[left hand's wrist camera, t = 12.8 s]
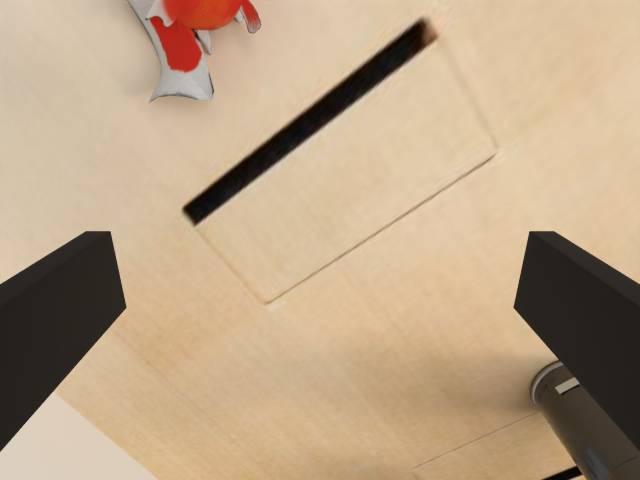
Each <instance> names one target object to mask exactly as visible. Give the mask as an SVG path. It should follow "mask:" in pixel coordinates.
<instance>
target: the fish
mask: <svg viewBox="0 0 640 480" xmlns="http://www.w3.org/2000/svg"><path fill="white" fill-rule="evenodd" d="M128 2H129V4H130V5H131V7H132V9H133V10H134V12H135V13H136V15H137V17H138V18H139V20H140V22H141V23H142V25H143V26H144V28H145V30H146V32H147V34H148V35H149V37H150V39H151V41H152V43H153V45H154V46H155V49H156V51H157V54H158V56H159V59H160V62H161V66H162V67H161V76H160V80H159V82H158V84H157V86H156V88H155V90H154V92H153V94H152V97H151V99H150V101H149V103H150V102H151V101H153V100H154V99H156V98H157V97H163V96H184V97H189V98H193V99H197V100H212V96H213V92H214V89H213V85H212V82H211V78H210V74H209V70H208V66H207V62H206V59H205V56H204V52H203V49H202V46H201V43H200V40H199V38H200V39H201V41H202V42H203V44H204V45H205V47H206V49H207V50H208V52H209V54H210V55H211V54H212V51H211V39H210V34H209V30H215V29H218V28H221V27H223V26H225V25H227V24H228V23H230V22H231V21H232V20H233V19H234V18H235V19H236V20H237V21H238V22H241V21H242V19H243V17H244V19H245V21H246V24H247V28H248V31H249V33H255V32H256V31H257V30H258V29H260V27H261V22H260V19H259V17H258V13H257V11H256V9H255V8H254V6H253V5H252V4H251V2H250V1H249V0H128ZM193 29H195V30H197V33H196V32H195V31H194V30H193ZM197 34H198V35H197ZM198 36H199V37H198ZM149 103H148V104H149Z"/></svg>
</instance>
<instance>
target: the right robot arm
mask: <svg viewBox="0 0 640 480" xmlns="http://www.w3.org/2000/svg"><path fill="white" fill-rule="evenodd" d="M531 398H532V401H533V402H534V404H535V405H536V407H537V408H538V409H539V410H540V411H541V413H542V414H543V416H544V417H545V419H546V420H547V422H548V423H549V425H550V426H551V428H552V429H553V431H554V432H555V434H556V435H557V437H558V438H559V440H560V441H561V443H562V444H563V446H564V447H565V449H566V450H567V451H568V453H569V454H570V456H571V457H572V459H573V460H574V462H575V463H576V465H577V466H578V468H579V469H580V471H581V472H582V474H583V475H584V477H585V478H586V479H587V480H640V452H639V450H638V449H637V448H636V447H635V446H634V445H633V444H632V442H631V441H630V440H629V439H628V438H627V437H626V436H625V434H624V433H623V432H622V431H621V430H620V429H619V428H618V426H617V425H616V424H615V423H614V422H613V421H612V420H611V418H610V417H609V416H608V415H607V414H606V413H605V412H604V410H603V409H602V408H601V407H600V406H599V405H598V404H597V402H596V401H595V400H594V399H593V398H592V397H591V396H590V394H589V393H588V392H587V391H586V390H585V389H584V388H583V386H582V385H581V384H580V383H579V382H578V381H577V380H576V378H575V377H574V376H573V375H572V374H571V373H570V372H569V370H568V369H567V368H566V367H565V366H564V365H563V364H562V362H561V361H559V362H556V363H553V364H552V365H550V366H548V367H546V368H545V369H544V370H542V371H541V372H540V373H539V374H538V376H537V377H536V378H535V380H534V381H533V384H532V387H531Z"/></svg>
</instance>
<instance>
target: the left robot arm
mask: <svg viewBox="0 0 640 480" xmlns="http://www.w3.org/2000/svg"><path fill="white" fill-rule="evenodd" d="M125 309H126V303H125V298H124V294H123V289H122V284H121V279H120V274H119V270H118V265H117V260H116V255H115V251H114V246H113V241H112V236H111V232H110V231H86V232H84V233H82V234H81V235H79V236H78V237H76V238H74V239H73V240H71V241H70V242H68V243H66V244H65V245H63V246H61V247H60V248H58V249H57V250H55V251H53V252H52V253H50V254H49V255H47V256H45V257H44V258H42V259H40V260H39V261H37V262H36V263H34V264H32V265H31V266H29V267H28V268H26V269H24V270H23V271H21V272H19V273H18V274H16V275H15V276H13V277H11V278H10V279H8V280H6V281H5V282H3V283H2V284H0V451H1V450H2V449H3V448H4V447H5V446H6V445H7V444H8V442H9V441H10V440H11V439H12V438H13V437H14V436H15V434H16V433H17V432H18V431H19V430H20V429H21V428H22V426H23V425H24V424H25V423H26V422H27V421H28V420H29V418H30V417H31V416H32V415H33V414H34V413H35V412H36V410H37V409H38V408H39V407H40V406H41V405H42V404H43V402H44V401H45V400H46V399H47V398H48V397H49V396H50V394H51V393H52V392H53V391H54V390H55V389H56V388H57V386H58V385H59V384H60V383H61V382H62V381H63V380H64V378H65V377H66V376H67V375H68V374H69V373H70V372H71V370H72V369H73V368H74V367H75V366H76V365H77V364H78V362H79V361H80V360H81V359H82V358H83V357H84V356H85V354H86V353H87V352H88V351H89V350H90V349H91V348H92V346H93V345H94V344H95V343H96V342H97V341H98V340H99V338H100V337H101V336H102V335H103V334H104V333H105V332H106V330H107V329H108V328H109V327H110V326H111V325H112V324H113V322H114V321H115V320H116V319H117V318H118V317H119V316H120V314H121V313H122V312H123V311H124V310H125ZM514 309H515V310H516V311H517V312H518V313H519V314H520V316H521V317H522V318H523V319H524V320H525V321H526V322H527V324H528V325H529V326H530V327H531V328H532V329H533V330H534V332H535V333H536V334H537V335H538V336H539V337H540V338H541V340H542V341H543V342H544V343H545V344H546V345H547V346H548V348H549V349H550V350H551V351H552V352H553V353H554V354H555V356H556V357H557V358H558V359H559V360H560V361H561V362H562V364H563V365H564V366H565V367H566V368H567V369H568V370H569V372H570V373H571V374H572V375H573V376H574V377H575V378H576V380H577V381H578V382H579V383H580V384H581V385H582V386H583V388H584V389H585V390H586V391H587V392H588V393H589V394H590V396H591V397H592V398H593V399H594V400H595V401H596V402H597V404H598V405H599V406H600V407H601V408H602V409H603V410H604V412H605V413H606V414H607V415H608V416H609V417H610V418H611V420H612V421H613V422H614V423H615V424H616V425H617V426H618V428H619V429H620V430H621V431H622V432H623V433H624V434H625V436H626V437H627V438H628V439H629V440H630V441H631V442H632V444H633V445H634V446H635V447H636V448H637V449H638V450H639V452H640V284H638V283H637V282H635V281H634V280H632V279H630V278H629V277H627V276H625V275H624V274H622V273H621V272H619V271H617V270H616V269H614V268H612V267H611V266H609V265H608V264H606V263H604V262H603V261H601V260H600V259H598V258H596V257H595V256H593V255H591V254H590V253H588V252H587V251H585V250H583V249H582V248H580V247H579V246H577V245H575V244H574V243H572V242H570V241H569V240H567V239H566V238H564V237H562V236H561V235H559V234H558V233H556V232H554V231H530V232H529V236H528V241H527V246H526V251H525V255H524V260H523V265H522V270H521V274H520V279H519V284H518V289H517V294H516V298H515V303H514Z"/></svg>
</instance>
